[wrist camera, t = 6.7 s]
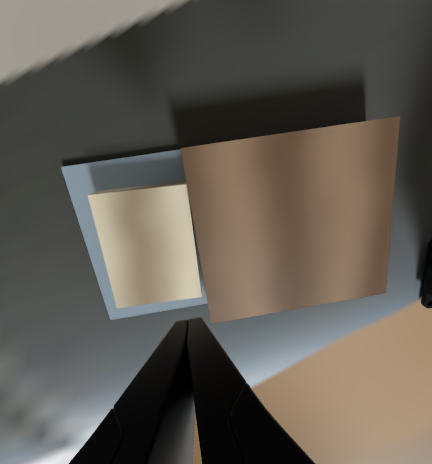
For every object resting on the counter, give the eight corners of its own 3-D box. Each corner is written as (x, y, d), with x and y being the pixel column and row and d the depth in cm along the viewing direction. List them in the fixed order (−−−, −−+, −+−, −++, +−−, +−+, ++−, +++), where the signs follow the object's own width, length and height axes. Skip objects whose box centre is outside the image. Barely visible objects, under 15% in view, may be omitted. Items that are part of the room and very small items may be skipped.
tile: (187, 180, 17) (186, 184, 15) (201, 283, 20) (201, 296, 18) (99, 190, 17) (87, 195, 15) (124, 293, 19) (116, 308, 17)
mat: (182, 149, 17) (182, 149, 16) (208, 300, 21) (209, 302, 20) (64, 166, 17) (60, 167, 16) (112, 316, 20) (110, 319, 20)
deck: (366, 122, 17) (400, 115, 15) (359, 274, 21) (385, 293, 18) (182, 149, 17) (180, 148, 14) (208, 300, 21) (211, 323, 18)
